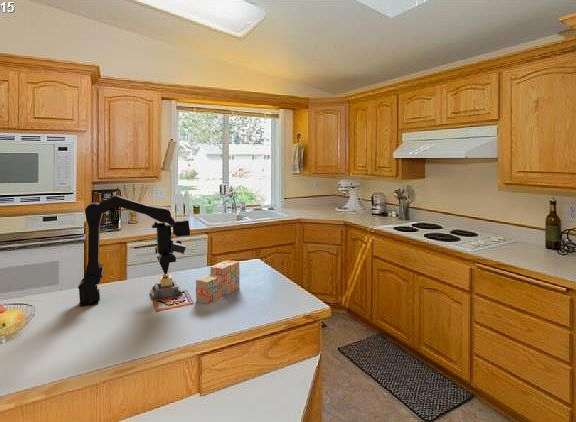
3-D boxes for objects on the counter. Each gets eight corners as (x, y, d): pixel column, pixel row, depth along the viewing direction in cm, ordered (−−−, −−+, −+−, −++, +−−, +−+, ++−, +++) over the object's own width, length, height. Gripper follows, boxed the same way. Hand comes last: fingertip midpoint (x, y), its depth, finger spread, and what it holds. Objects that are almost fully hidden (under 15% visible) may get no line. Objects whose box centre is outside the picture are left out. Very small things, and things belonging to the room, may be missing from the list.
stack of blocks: (207, 304, 144) (207, 274, 143) (195, 301, 147) (194, 272, 146) (239, 288, 163) (239, 261, 161) (228, 285, 166) (228, 259, 164)
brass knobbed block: (161, 293, 152) (160, 277, 151) (160, 289, 156) (159, 273, 155) (172, 291, 154) (171, 275, 153) (171, 288, 158) (170, 272, 157)
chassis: (152, 299, 148) (152, 291, 148) (150, 291, 157) (150, 283, 157) (183, 295, 154) (182, 287, 153) (179, 287, 162) (178, 279, 162)
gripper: (188, 240, 147) (189, 277, 149) (180, 231, 164) (181, 265, 166) (159, 243, 142) (160, 281, 145) (154, 233, 159) (155, 268, 161)
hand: (165, 273), depth 154 cm, fingers closed
